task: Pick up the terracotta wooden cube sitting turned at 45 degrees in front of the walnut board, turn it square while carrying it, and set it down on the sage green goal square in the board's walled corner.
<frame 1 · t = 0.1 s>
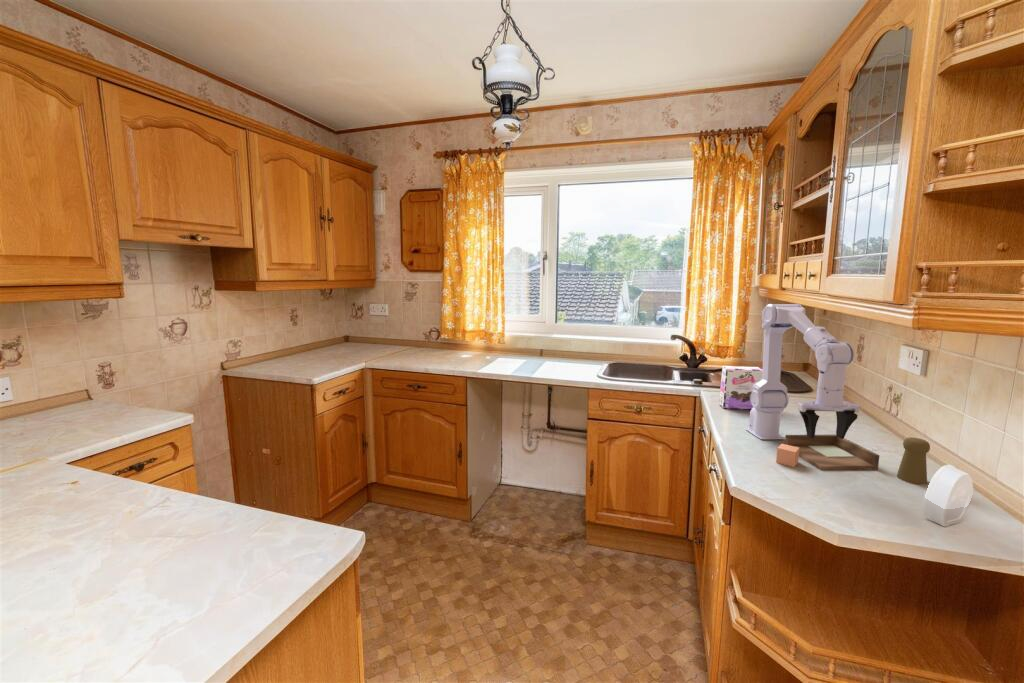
hand: (825, 437, 121), 10 cm above the worktop, tool pointing down, fingers open, 7 cm apart
cube: (787, 462, 128), on the worktop
cork: (911, 479, 118), on the worktop
candy box: (739, 408, 180), on the worktop
arena: (828, 457, 131), on the worktop
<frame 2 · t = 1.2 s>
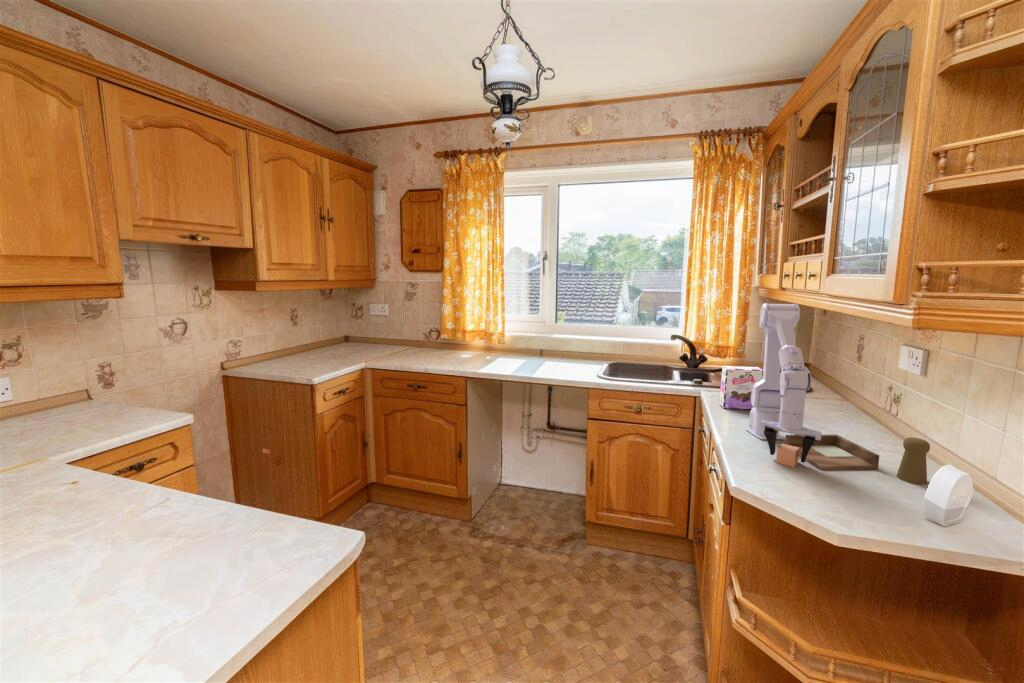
hand: (787, 457, 128), 1 cm above the worktop, tool pointing down, fingers open, 7 cm apart
nothing on the worktop moved.
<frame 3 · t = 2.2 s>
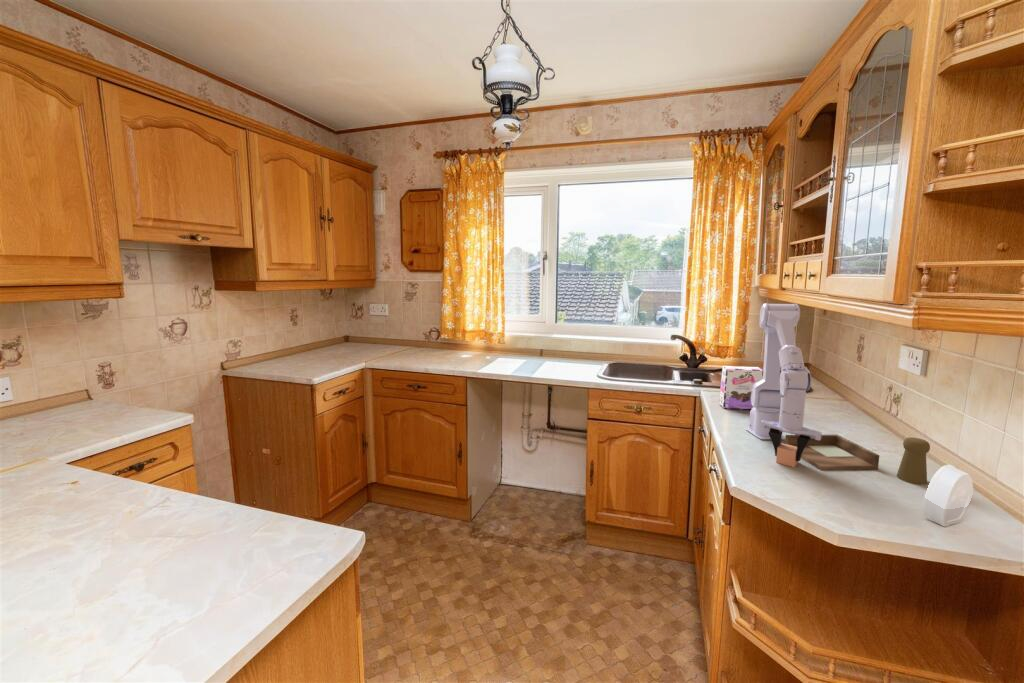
hand: (787, 457, 128), 1 cm above the worktop, tool pointing down, fingers closed on cube, 4 cm apart
cube: (787, 462, 128), on the worktop, touching gripper
everything else where it was.
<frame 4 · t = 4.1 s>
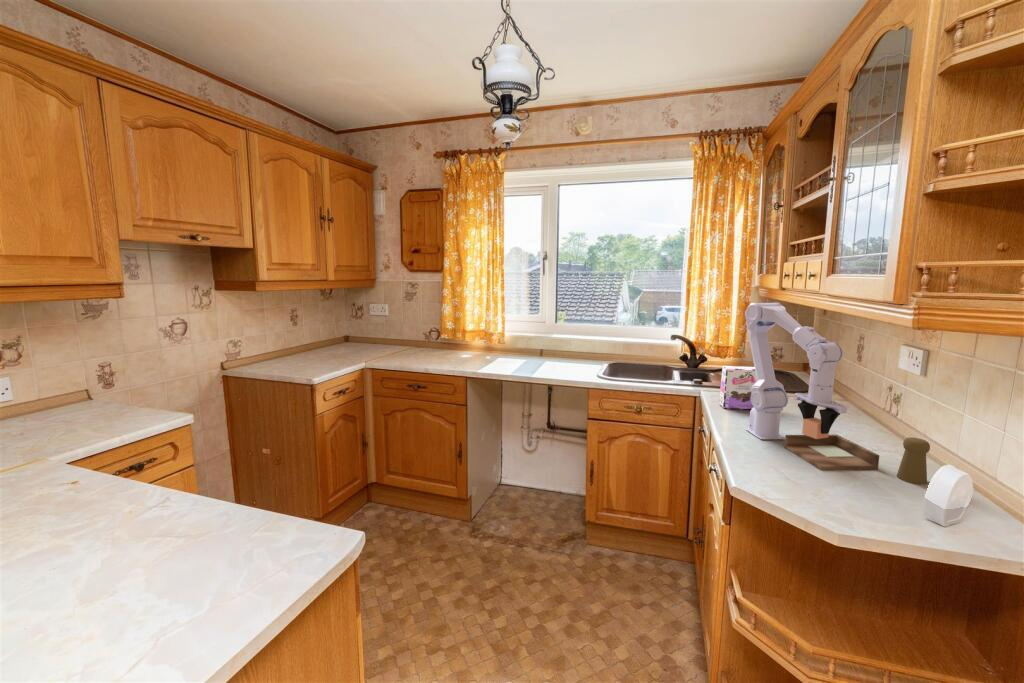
hand: (816, 430, 130), 8 cm above the worktop, tool pointing down, fingers closed on cube, 4 cm apart
cube: (815, 435, 130), point 7 cm above the worktop, touching gripper
everything else where it was.
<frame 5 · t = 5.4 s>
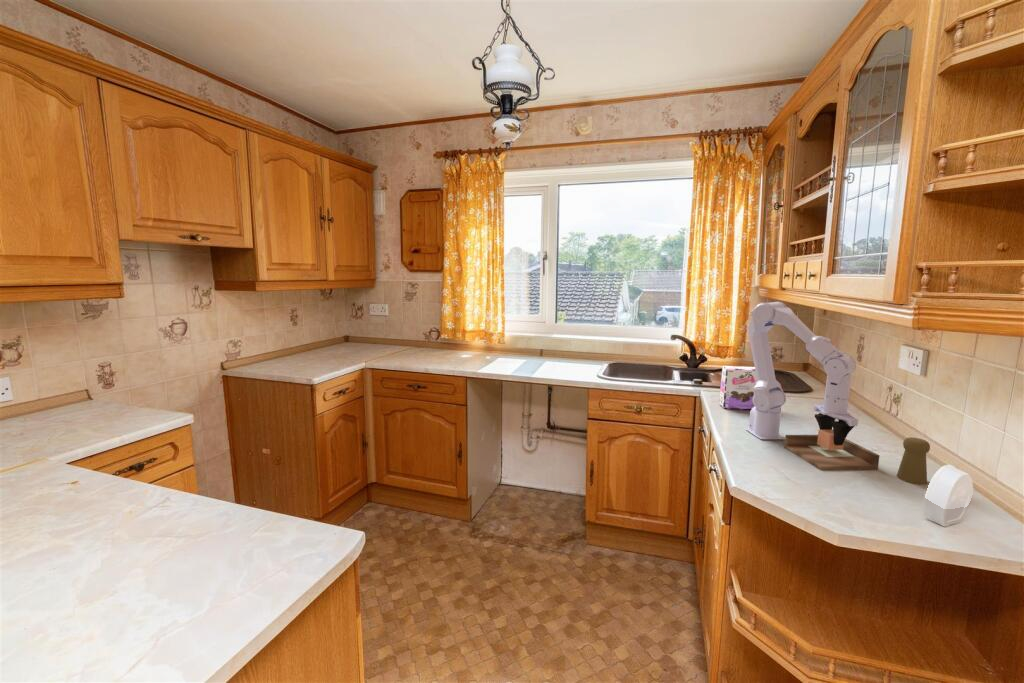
hand: (831, 441, 133), 4 cm above the worktop, tool pointing down, fingers closed on cube, 4 cm apart
cube: (829, 446, 133), point 3 cm above the worktop, touching gripper
everything else where it was.
when the fingers open (4 cm above the worktop, at t = 6.2 s): cube drops 1 cm, resting on arena.
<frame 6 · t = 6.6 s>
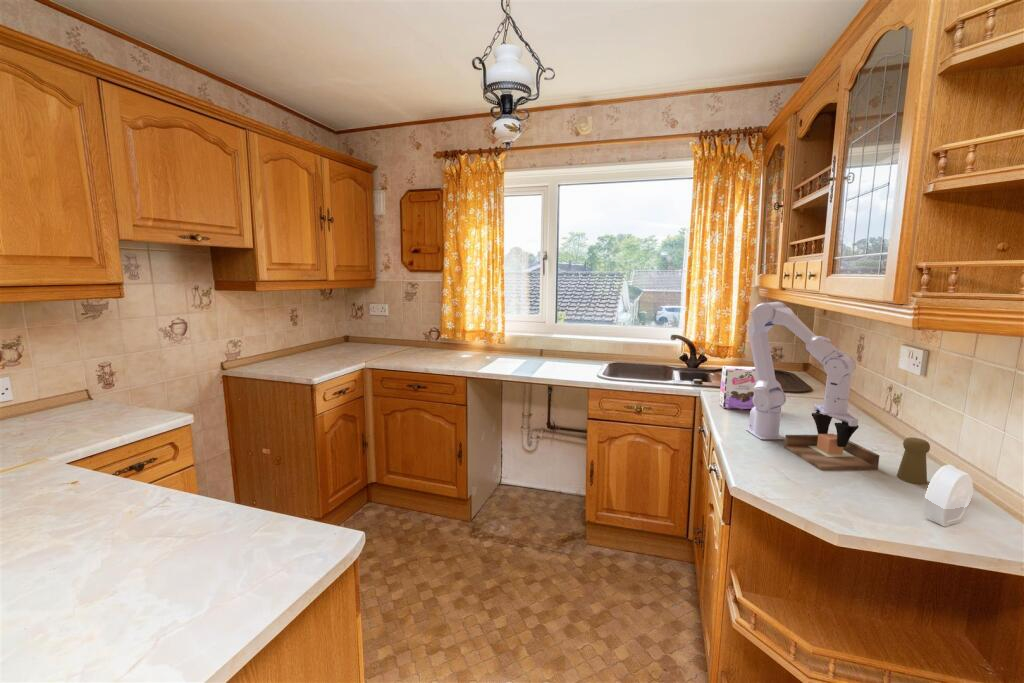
hand: (831, 441, 133), 4 cm above the worktop, tool pointing down, fingers open, 7 cm apart
cube: (829, 451, 133), point 1 cm above the worktop, touching arena
everything else where it was.
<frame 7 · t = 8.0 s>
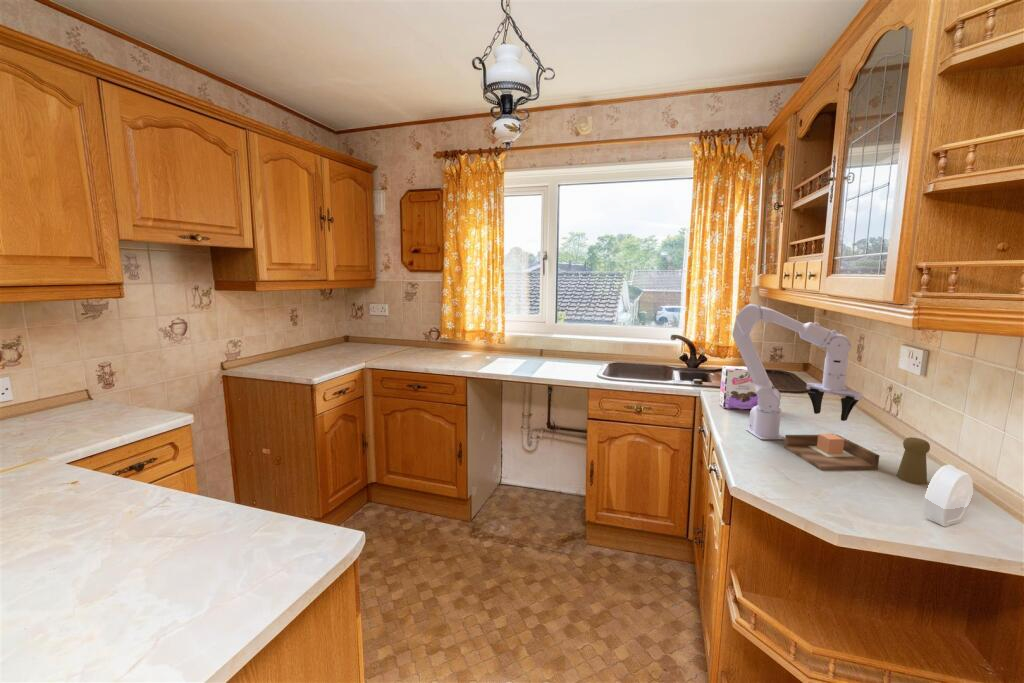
hand: (830, 416, 139), 9 cm above the worktop, tool pointing down, fingers open, 7 cm apart
nothing on the worktop moved.
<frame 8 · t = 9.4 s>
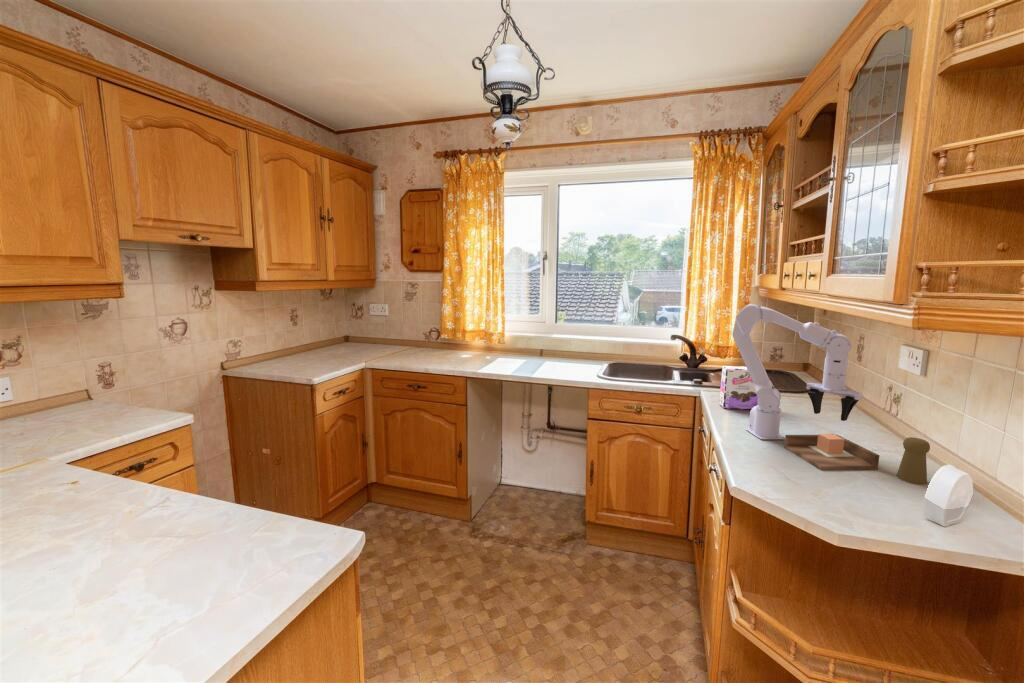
hand: (830, 416, 139), 9 cm above the worktop, tool pointing down, fingers open, 7 cm apart
nothing on the worktop moved.
at the end: cube 0.4 cm from the target spot on the arena, point 1.2 cm above the arena's base; cube tilted 0°; the gripper is holding nothing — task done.
